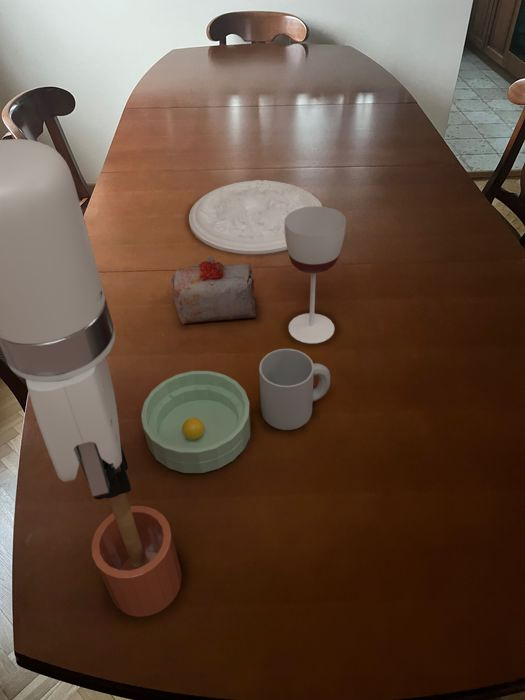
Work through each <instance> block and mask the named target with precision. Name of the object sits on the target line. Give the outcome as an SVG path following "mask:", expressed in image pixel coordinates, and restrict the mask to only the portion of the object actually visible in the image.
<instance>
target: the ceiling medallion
mask: <svg viewBox="0 0 525 700" xmlns="http://www.w3.org/2000/svg"><path fill="white" fill-rule="evenodd" d="M312 206H320V207H324V206H323V204H322V203H321V201H320V200H319V199H318V198H317V197H316V196H315V195H314V194H312V193H311V192H309V191H308V190H306V189H304V188H301V187H299V186H297V185H293V184H291V183H286V182H282V181H275V180H267V179H263V180H262V179H261V180H260V179H255V180H246V181H239V182H233V183H229V184H226V185H224V186H220V187H217V188H215V189H213V190H212V191H210V192H208V193H206V194H205V195H203V196H201V197H200V198H199V199H197V201H196V202H195V203H194V204H193V206H192V207H191V209H190V211H189V214H188V222H189V228H190V230H191V232H192V233H193V235H194V236H195V237H196V238H197V239H198V240H199V241H201V242H203V243H204V244H206V245H207V246H210V247H211V248H214V249H217V250H220V251H223V252H227V253H233V254H240V255H265V254H273V253H278V252H279V253H280V252H283V251H286V250H287V251H288V249H287V244H286V238H285V218H286V216H287V215H288V214H289V213H291V212H293V211H295V210H297V209H300V208H304V207H312Z"/></svg>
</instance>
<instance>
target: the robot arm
mask: <svg viewBox="0 0 525 700" xmlns="http://www.w3.org/2000/svg"><path fill="white" fill-rule="evenodd" d="M84 217H85V216H84V213H83V210H82V206H81V203H80V199H79V195H78V191H77V187H76V184H75V181H74V178H73V175H72V172H71V169H70V167H69V165H68V163H67V161H66V160H65V159H64V157H63V156H62V155H61V154H60V152H58V151H57V150H56V149H55V148H53V147H51V146H49V145H47V144H45V143H42V142H39V141H37V140H32V139H24V138H11V139H0V351H1V353H2V355H3V357H4V360H5V361H6V363H7V365H8V368H9V369H10V370H11V371H12V372H13V373H14V374H15V375H17V376H18V377H20V378H23V379H25V384H26V387H27V391H28V395H29V399H30V403H31V407H32V410H33V413H34V416H35V419H36V422H37V425H38V428H39V431H40V433H41V436H42V439H43V442H44V444H45V447H46V450H47V452H48V455H49V457H50V460H51V463H52V465H53V467H54V470H55V473H56V475H57V478H58V479H59V480H61V481H62V482H64V483H67V482H71V481H72V482H73V481H75V480H76V478H77V476H78V471H79V467H81V469H82V471H83V474H84V476H85V479H86V481H87V483H88V484H87V485H88V486H89V489H90V492H91V495H92V498H94V500H97V501H98V500H99V501H100V500H103V499H109V498H112V497H116V496H118V495H119V494H123V493H126V494H127V493H130V492H131V491H132V486H131V482H130V479H129V475H128V472H127V470H128V469H129V465H128V460H127V457H126V455H125V451H124V448H123V445H122V442H121V436H120V424H119V417H118V416H119V415H118V409H117V402H116V395H115V390H114V384H113V380H112V376H111V372H110V367H109V364H108V361H107V356H108V355H109V354H110V352H111V351H112V349H113V346H114V345H115V343H116V342H115V341H116V330H115V326H114V322H113V319H112V316H111V311H110V308H109V305H108V300H107V297H106V293H105V291H104V287H103V283H102V279H101V276H100V273H99V272H100V271H99V268H98V265H97V262H96V258H95V254H94V250H93V247H92V246H93V245H92V243H91V240H90V236H89V232H88V228H87V225H86V221H85V218H84ZM102 459H103V460H102Z"/></svg>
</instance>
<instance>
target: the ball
mask: <svg viewBox="0 0 525 700" xmlns="http://www.w3.org/2000/svg"><path fill="white" fill-rule="evenodd" d="M182 432H183V435H184V436H185V437H186V438H187V439H189V440H197V439H199V438H200V437H201V436H202V435H203V433H204V424H203V423H202V421H201V420H199V419H198V418H189V419H187V420H186V421H185V422H184V423H183V426H182Z"/></svg>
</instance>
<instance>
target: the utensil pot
mask: <svg viewBox="0 0 525 700" xmlns="http://www.w3.org/2000/svg"><path fill="white" fill-rule="evenodd" d="M130 508H131V511H132V515H133V518H134V521H135V524H136V528H137V531H138V534H139V537H140V541H141V544H142V547H143V550H144V553H145V557H146V562H145V563H144V565H143V566H141V567H134V566H133V565H132V564H131V562H130V559H129V556H128V553H127V550H126V547H125V544H124V541H123V539H122V536H121V533H120V530H119V527H118V524H117V521H116V519H115V516H114V513H113V512H112V513H111V514H109V515H108V516H107V517H106V518H105V519H103V520H102V522H101V523H100V524H99V526H98V527H97V529H96V530H95V532H94V534H93V538H92V541H91V557H92V559H93V561H94V564H95V565H96V567H97V571H98V573H99V575H100V577H101V579H102V581H103V583H104V585H105V587H106V589H107V591H108V594H109V596H110V597H111V600H112V602H113V604H114V605H115V606H116V608H117V609H118V610H119V611H121V612H122V613H124V614H126V615H128V616H131V617H139V618H143V617H144V618H145V617H150V616H153V615H155V614H157V613H160V612H162V611H163V610H164V609H166V608H167V607H168V606H169V605H171V603H172V602H173V601H174V600H175V598H176V597H177V595H178V593H179V591H180V589H181V585H182V581H183V580H182V579H183V578H182V576H183V573H182V568H181V564H180V563H181V562H180V559H179V556H178V552H177V547H176V544H175V540H174V537H173V534H172V529H171V526H170V523H169V521H168V520H167V518H166V516H165V515H164V514H162V513H161V512H160V511H159V510H157V509H155V508H153V507H149V506H146V505H130Z"/></svg>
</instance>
